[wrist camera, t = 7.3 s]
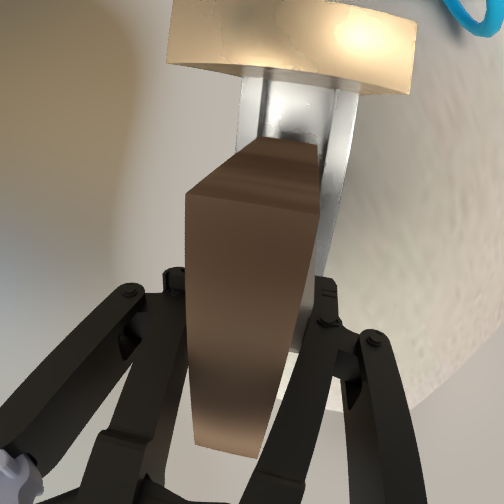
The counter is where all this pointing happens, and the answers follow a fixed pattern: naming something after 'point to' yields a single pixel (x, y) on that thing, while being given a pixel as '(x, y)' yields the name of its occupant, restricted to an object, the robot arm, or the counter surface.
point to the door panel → (246, 285)
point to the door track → (298, 73)
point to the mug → (498, 8)
